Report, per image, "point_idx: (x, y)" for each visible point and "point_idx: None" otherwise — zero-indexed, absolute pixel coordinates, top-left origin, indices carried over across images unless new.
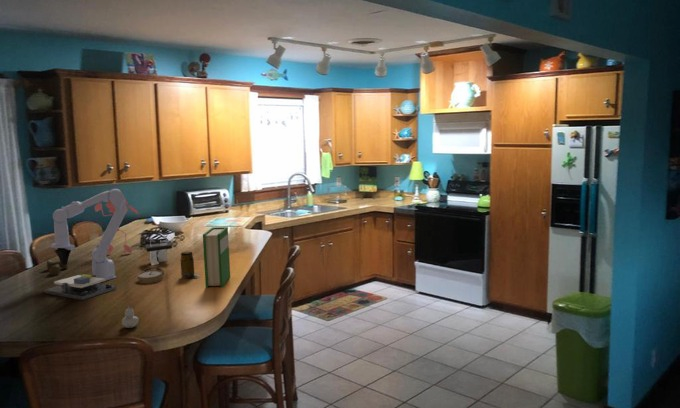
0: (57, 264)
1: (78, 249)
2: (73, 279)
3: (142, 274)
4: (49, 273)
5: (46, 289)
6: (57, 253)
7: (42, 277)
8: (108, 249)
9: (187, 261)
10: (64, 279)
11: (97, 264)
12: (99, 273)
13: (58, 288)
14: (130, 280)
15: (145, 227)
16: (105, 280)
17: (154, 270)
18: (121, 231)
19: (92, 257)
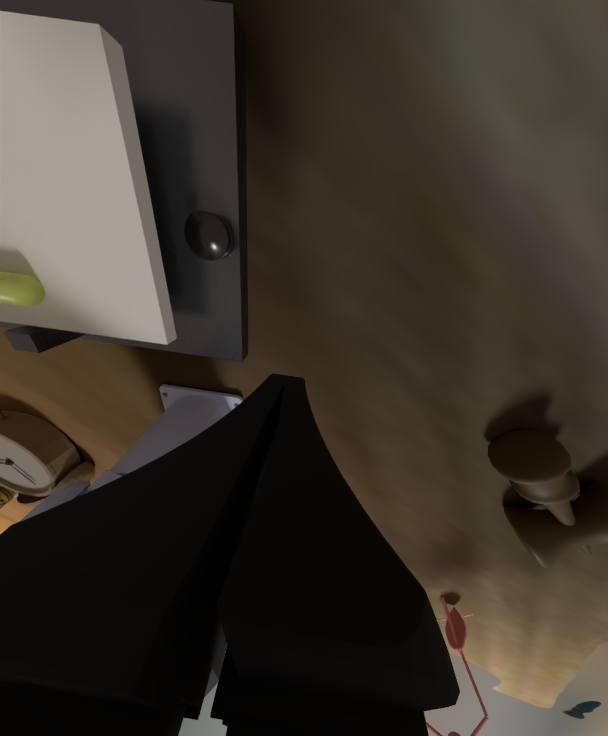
0: (565, 520)
1: (599, 631)
2: (32, 208)
3: (32, 458)
4: (544, 433)
5: (221, 26)
6: (312, 513)
7: (565, 394)
8: (458, 626)
9: None
10: (108, 179)
11: (115, 467)
12: (154, 423)
13: (154, 121)
14: (91, 429)
15: (504, 692)
16: (166, 408)
17: (41, 492)
18: (434, 729)
19: (42, 511)
